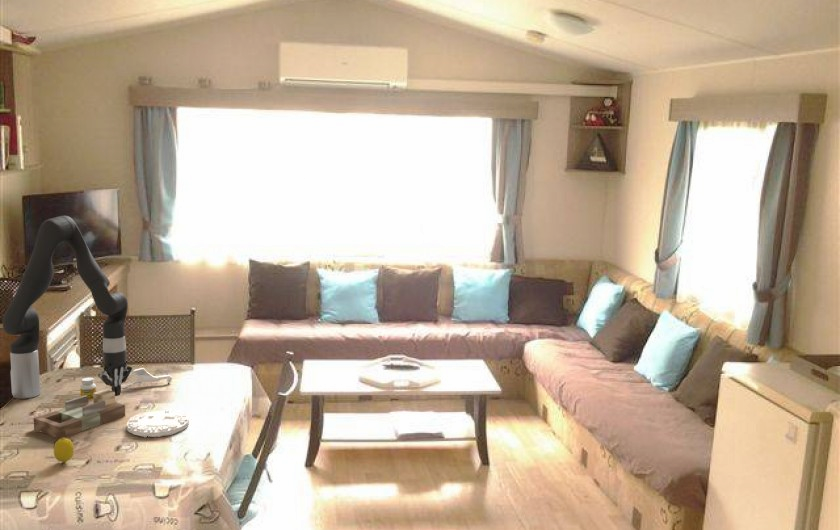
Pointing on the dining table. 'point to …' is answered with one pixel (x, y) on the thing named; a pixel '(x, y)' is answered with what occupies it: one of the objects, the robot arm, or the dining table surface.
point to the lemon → (63, 449)
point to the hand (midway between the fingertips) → (116, 395)
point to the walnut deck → (78, 417)
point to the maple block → (104, 396)
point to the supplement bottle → (88, 388)
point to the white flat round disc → (157, 423)
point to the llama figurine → (146, 377)
